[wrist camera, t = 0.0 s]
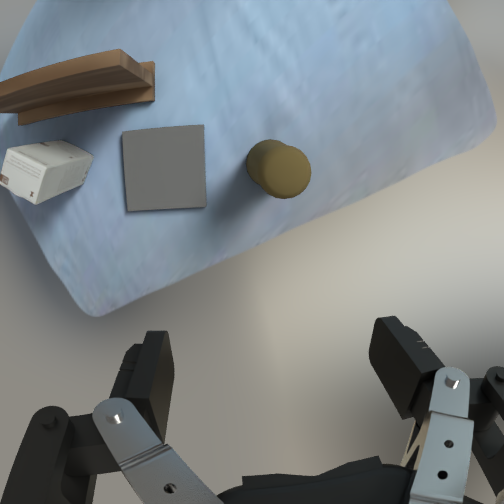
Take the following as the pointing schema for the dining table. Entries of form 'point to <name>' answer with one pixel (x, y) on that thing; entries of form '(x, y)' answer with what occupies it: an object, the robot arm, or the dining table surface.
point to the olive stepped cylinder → (279, 168)
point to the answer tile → (165, 167)
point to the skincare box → (44, 169)
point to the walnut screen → (78, 86)
